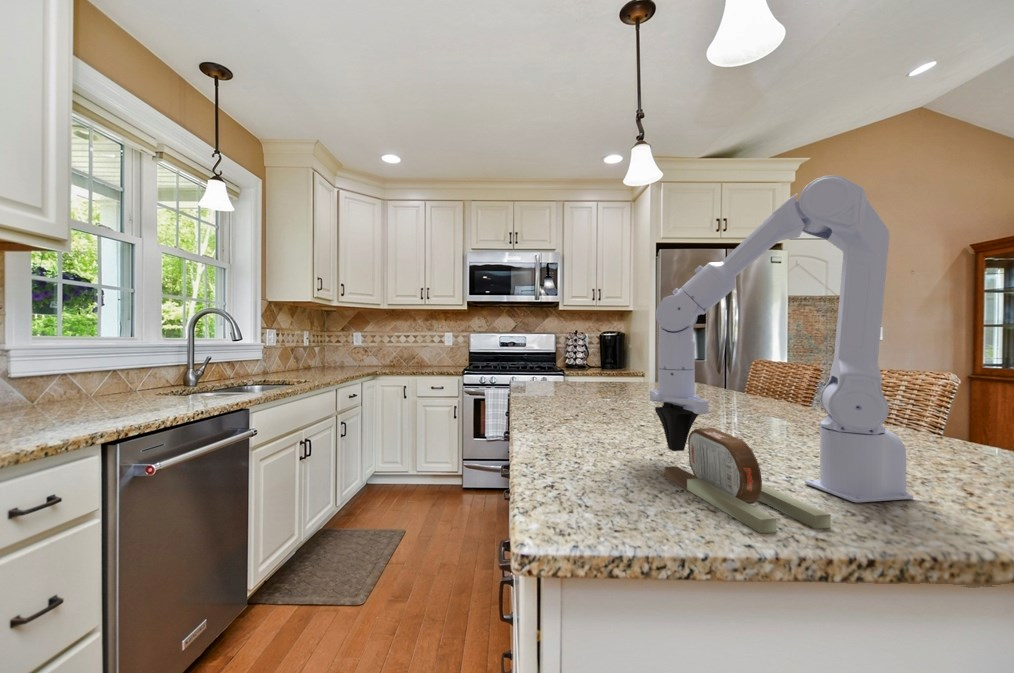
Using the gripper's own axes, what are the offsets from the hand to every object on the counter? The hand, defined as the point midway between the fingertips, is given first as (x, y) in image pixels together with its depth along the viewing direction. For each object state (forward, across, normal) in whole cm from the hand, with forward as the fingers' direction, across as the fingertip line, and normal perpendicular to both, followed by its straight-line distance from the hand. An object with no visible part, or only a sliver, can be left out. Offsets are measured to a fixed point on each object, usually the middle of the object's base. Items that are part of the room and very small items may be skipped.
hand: (676, 450), depth 72 cm
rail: (+3, +14, 0) cm, 15 cm away
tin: (+3, +12, -1) cm, 12 cm away
